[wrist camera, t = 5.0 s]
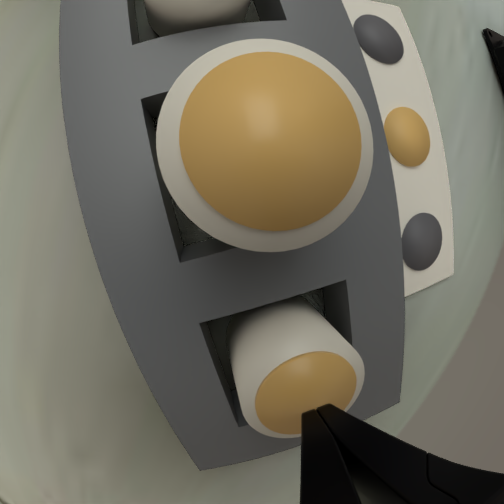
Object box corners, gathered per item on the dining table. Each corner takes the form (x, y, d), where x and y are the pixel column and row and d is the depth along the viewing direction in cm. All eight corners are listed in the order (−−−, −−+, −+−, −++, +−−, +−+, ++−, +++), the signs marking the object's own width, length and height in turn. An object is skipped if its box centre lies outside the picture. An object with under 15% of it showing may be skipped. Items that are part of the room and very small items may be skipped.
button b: (287, 89, 8) (348, 32, 4) (315, 207, 9) (393, 224, 5) (161, 113, 8) (136, 56, 4) (192, 239, 9) (188, 281, 5)
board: (279, -58, 8) (293, -86, 6) (375, 376, 14) (399, 402, 12) (81, -25, 7) (68, -52, 5) (197, 434, 13) (199, 470, 10)
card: (396, 8, 10) (400, 5, 10) (450, 272, 14) (455, 274, 13) (315, -3, 9) (318, -8, 9) (382, 302, 13) (387, 306, 13)
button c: (312, 278, 12) (365, 322, 8) (323, 358, 13) (367, 415, 9) (214, 307, 11) (225, 369, 7) (239, 385, 12) (258, 454, 8)
